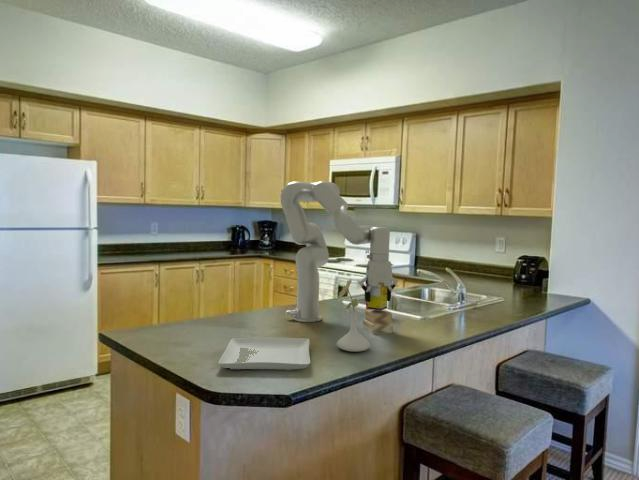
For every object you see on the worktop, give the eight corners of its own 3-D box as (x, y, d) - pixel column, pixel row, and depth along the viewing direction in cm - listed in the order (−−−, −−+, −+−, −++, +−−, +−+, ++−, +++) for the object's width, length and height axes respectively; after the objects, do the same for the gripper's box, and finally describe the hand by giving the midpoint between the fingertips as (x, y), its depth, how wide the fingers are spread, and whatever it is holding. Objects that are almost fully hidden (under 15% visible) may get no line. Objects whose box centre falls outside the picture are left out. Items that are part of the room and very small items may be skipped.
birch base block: (371, 334, 185) (372, 324, 184) (362, 328, 193) (363, 319, 193) (392, 333, 187) (393, 323, 187) (382, 327, 196) (383, 318, 196)
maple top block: (373, 324, 185) (373, 314, 185) (365, 319, 193) (365, 309, 192) (391, 323, 188) (392, 313, 187) (382, 318, 195) (383, 308, 195)
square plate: (309, 347, 166) (309, 336, 166) (310, 375, 139) (310, 362, 139) (231, 346, 165) (231, 335, 165) (217, 374, 138) (217, 361, 138)
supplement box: (387, 308, 191) (388, 281, 190) (381, 310, 186) (382, 283, 185) (373, 306, 194) (374, 279, 193) (367, 308, 189) (368, 281, 188)
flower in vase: (349, 342, 172) (351, 274, 170) (376, 349, 165) (378, 278, 163) (327, 350, 162) (328, 278, 160) (354, 358, 155) (356, 282, 153)
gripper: (362, 259, 182) (361, 303, 183) (403, 258, 188) (401, 302, 189) (355, 256, 189) (353, 300, 191) (394, 256, 195) (392, 298, 196)
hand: (377, 300), depth 190 cm, fingers closed on supplement box, 8 cm apart
